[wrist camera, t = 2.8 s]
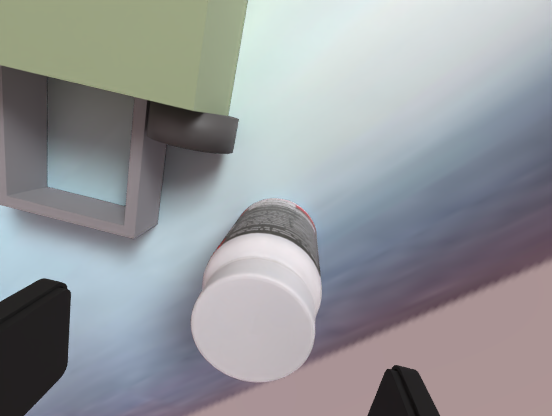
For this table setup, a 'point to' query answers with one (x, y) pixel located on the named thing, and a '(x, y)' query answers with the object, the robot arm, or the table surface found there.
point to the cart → (121, 79)
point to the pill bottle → (261, 294)
